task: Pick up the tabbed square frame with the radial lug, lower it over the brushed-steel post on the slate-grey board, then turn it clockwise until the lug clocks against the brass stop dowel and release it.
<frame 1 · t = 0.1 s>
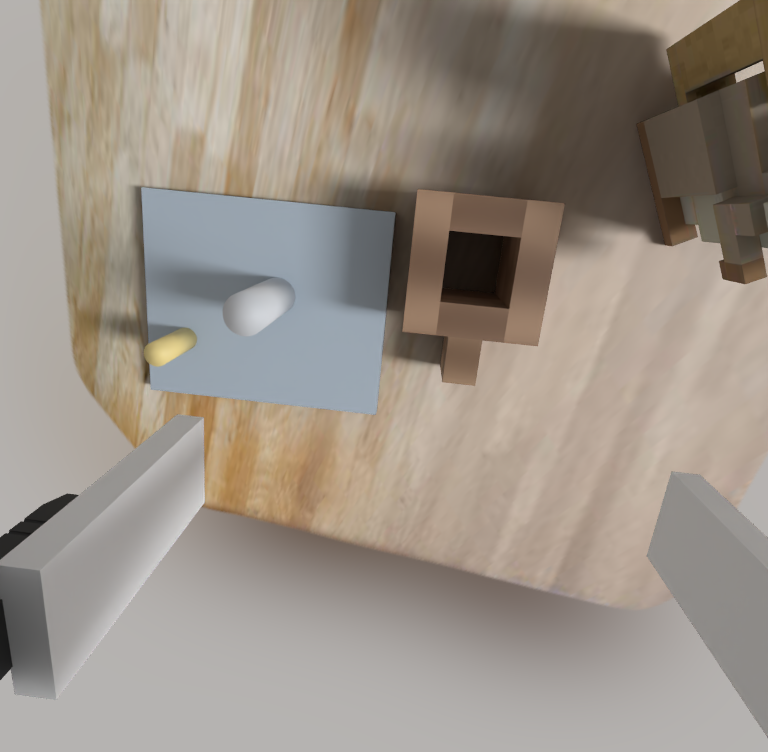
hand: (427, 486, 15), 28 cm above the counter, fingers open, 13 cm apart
tabbed square frame: (454, 366, 42), on the counter
post board: (281, 293, 41), on the counter
toy: (692, 152, 37), on the counter
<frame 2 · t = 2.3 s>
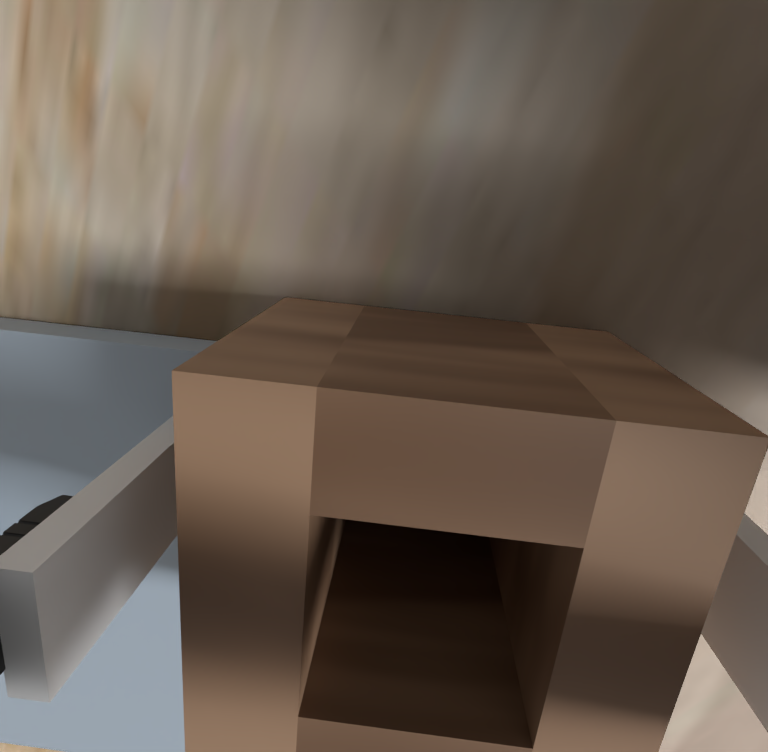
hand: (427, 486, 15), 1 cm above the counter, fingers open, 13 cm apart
tabbed square frame: (397, 672, 18), on the counter
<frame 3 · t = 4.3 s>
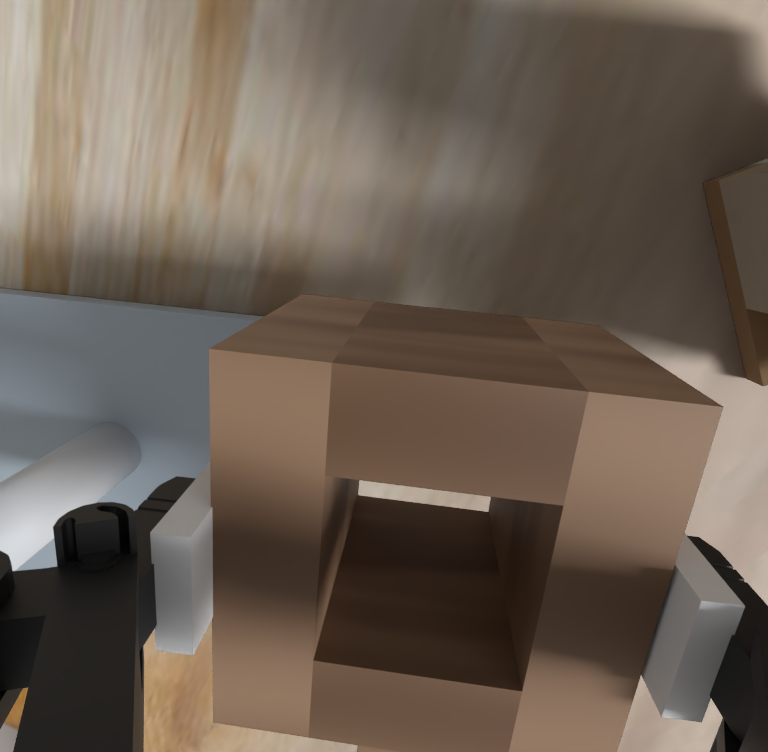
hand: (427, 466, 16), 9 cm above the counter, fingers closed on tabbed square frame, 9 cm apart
tabbed square frame: (404, 647, 20), point 7 cm above the counter, touching gripper
post board: (126, 440, 26), on the counter
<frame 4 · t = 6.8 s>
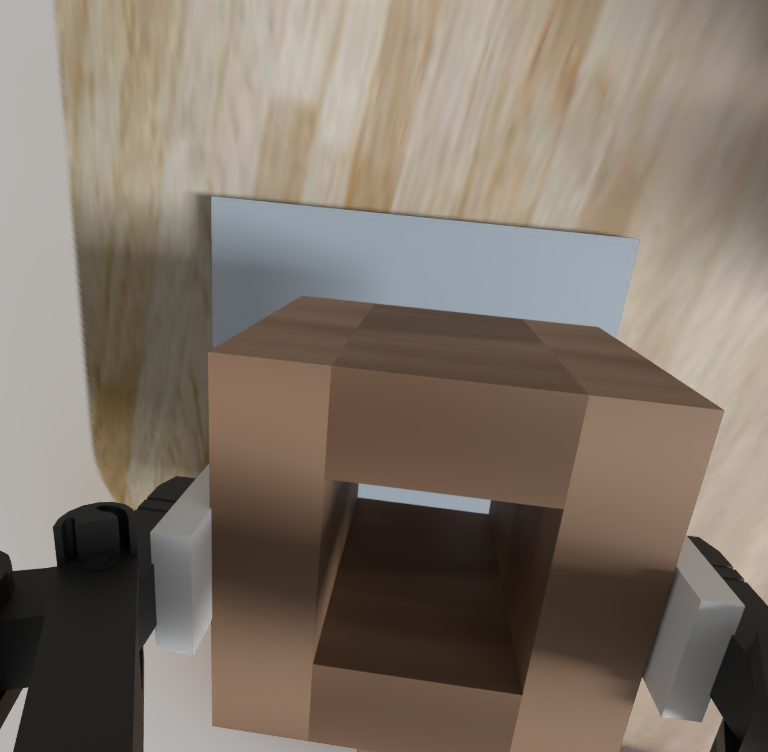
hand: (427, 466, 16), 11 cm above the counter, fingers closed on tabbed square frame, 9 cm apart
tabbed square frame: (403, 649, 20), point 10 cm above the counter, touching gripper
post board: (425, 363, 26), on the counter
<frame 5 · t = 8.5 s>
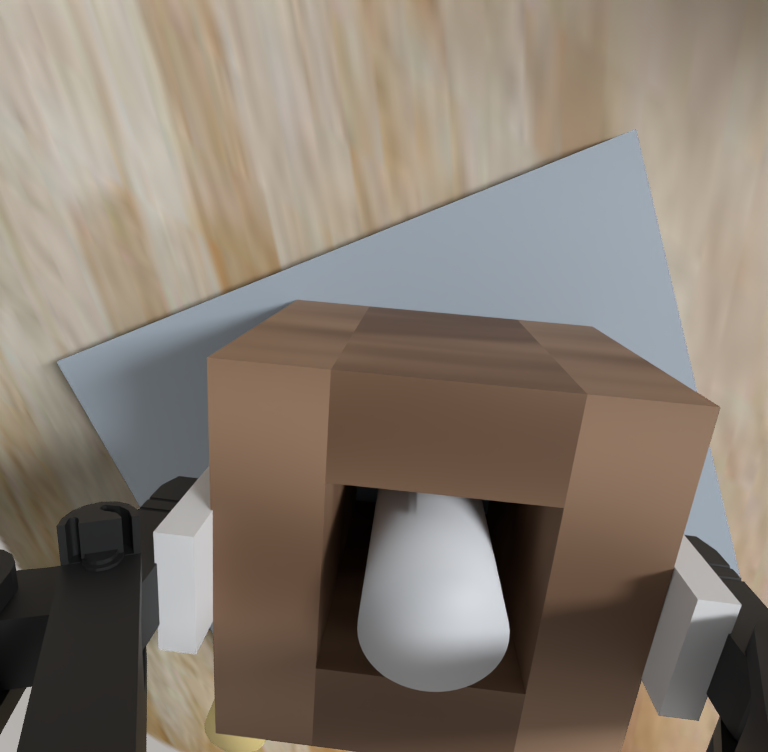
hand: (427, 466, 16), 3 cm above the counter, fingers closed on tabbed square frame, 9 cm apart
tabbed square frame: (404, 652, 20), point 1 cm above the counter, touching gripper
post board: (426, 433, 18), on the counter
when the fingers open (3 cm above the counter, at t = 9.8 s): tabbed square frame stays where it is, resting on post board.
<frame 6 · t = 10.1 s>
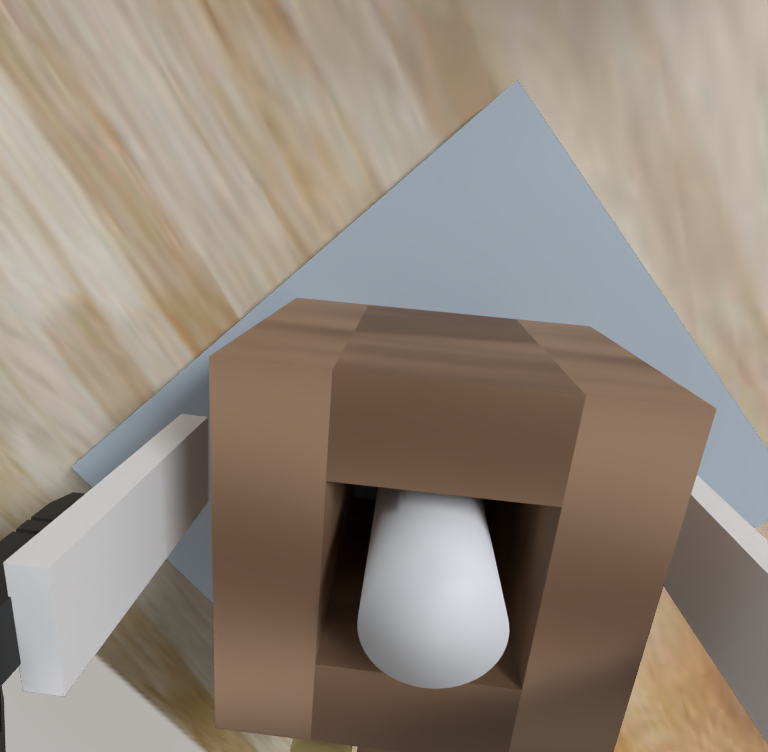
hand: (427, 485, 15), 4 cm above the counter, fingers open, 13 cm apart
tabbed square frame: (401, 647, 20), point 1 cm above the counter, touching post board
post board: (426, 431, 18), on the counter
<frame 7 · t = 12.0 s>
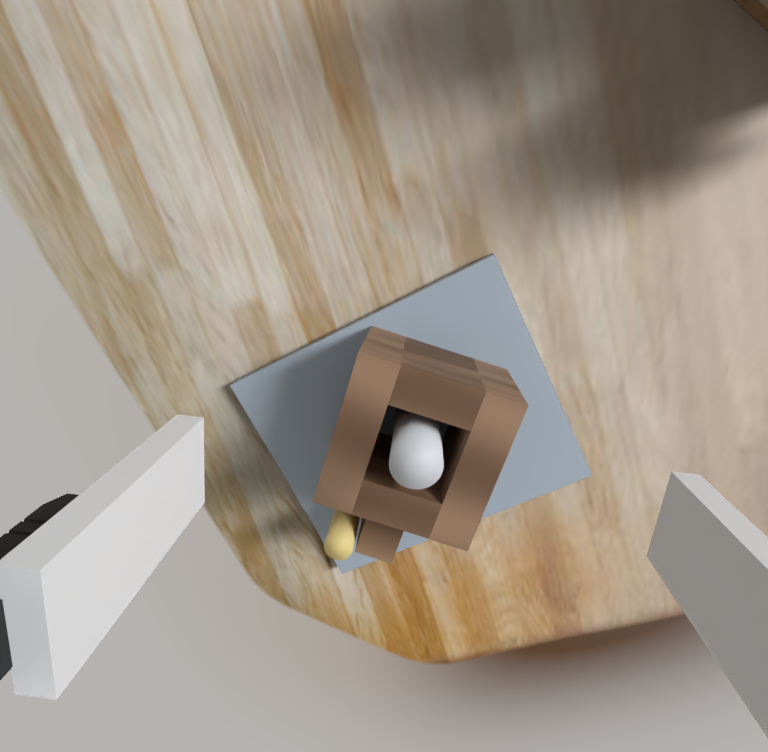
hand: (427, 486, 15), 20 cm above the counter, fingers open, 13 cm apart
tabbed square frame: (379, 518, 36), point 1 cm above the counter, touching post board
post board: (417, 405, 35), on the counter
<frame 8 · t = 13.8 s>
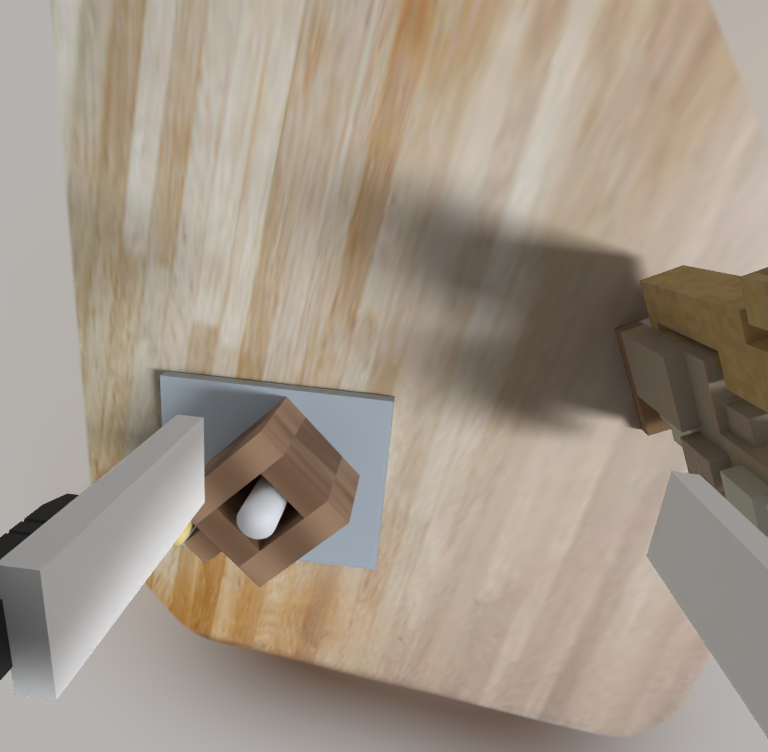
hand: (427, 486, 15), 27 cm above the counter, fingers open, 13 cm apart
tabbed square frame: (215, 521, 46), point 1 cm above the counter, touching post board
post board: (288, 461, 45), on the counter
toy: (666, 352, 40), on the counter
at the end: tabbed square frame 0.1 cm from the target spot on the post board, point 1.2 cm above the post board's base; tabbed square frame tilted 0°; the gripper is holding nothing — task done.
